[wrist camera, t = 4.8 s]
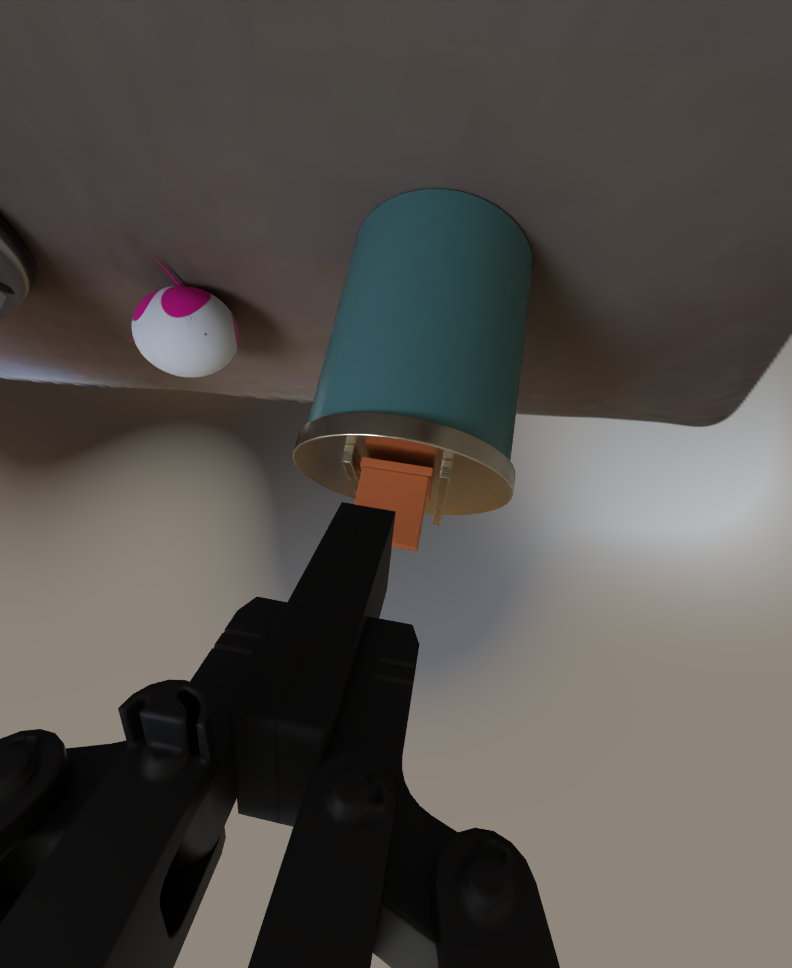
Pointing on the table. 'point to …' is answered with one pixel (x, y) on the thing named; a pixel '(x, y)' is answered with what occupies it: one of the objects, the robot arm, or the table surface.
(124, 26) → the table surface
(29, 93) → the table surface
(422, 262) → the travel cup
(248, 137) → the table surface
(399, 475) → the slider
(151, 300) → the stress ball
